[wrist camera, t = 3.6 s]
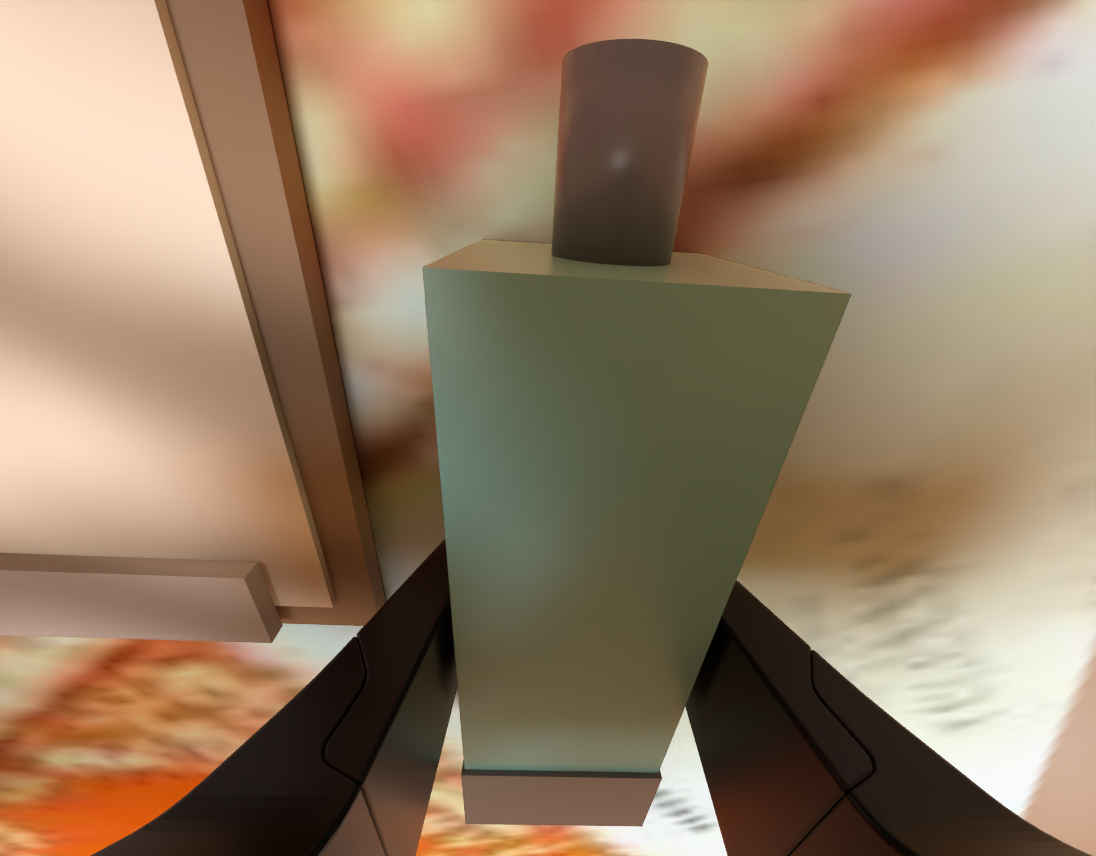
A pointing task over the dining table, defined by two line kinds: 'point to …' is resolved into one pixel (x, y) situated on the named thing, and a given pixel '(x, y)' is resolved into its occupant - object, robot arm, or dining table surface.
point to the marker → (604, 450)
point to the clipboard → (165, 337)
